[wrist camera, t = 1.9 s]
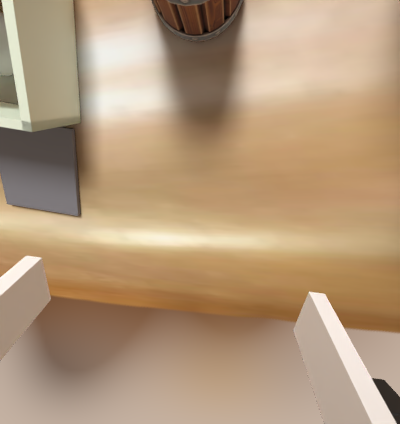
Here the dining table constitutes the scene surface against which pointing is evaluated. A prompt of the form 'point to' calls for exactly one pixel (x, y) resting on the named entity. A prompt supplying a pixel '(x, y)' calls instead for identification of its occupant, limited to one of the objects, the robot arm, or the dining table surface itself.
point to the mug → (197, 17)
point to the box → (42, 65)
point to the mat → (40, 169)
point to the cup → (4, 49)
